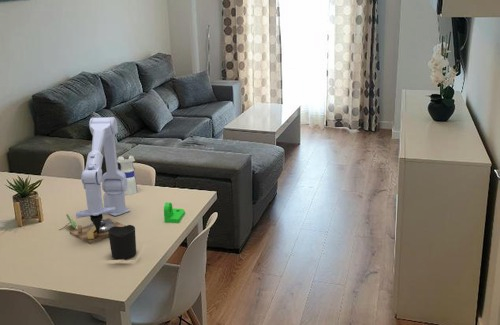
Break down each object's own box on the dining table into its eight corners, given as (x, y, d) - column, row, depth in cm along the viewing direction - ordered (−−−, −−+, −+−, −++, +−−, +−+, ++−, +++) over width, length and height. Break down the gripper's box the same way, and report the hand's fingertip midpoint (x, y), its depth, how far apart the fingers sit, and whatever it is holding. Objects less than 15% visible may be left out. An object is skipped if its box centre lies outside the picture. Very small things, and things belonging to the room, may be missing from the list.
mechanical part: (178, 223, 228) (177, 205, 226) (164, 223, 229) (163, 205, 227) (186, 213, 239) (185, 195, 237) (173, 212, 240) (171, 195, 238)
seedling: (67, 239, 227) (80, 229, 228) (60, 236, 219) (74, 226, 220) (58, 225, 229) (71, 215, 230) (50, 222, 221) (64, 212, 222)
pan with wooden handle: (94, 222, 227) (93, 215, 227) (117, 223, 226) (117, 216, 225) (78, 238, 212) (77, 231, 211) (103, 239, 211) (102, 231, 210)
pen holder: (123, 247, 206) (121, 222, 204) (142, 252, 202) (140, 227, 199) (105, 257, 199) (102, 231, 196) (124, 262, 194) (122, 236, 191)
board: (69, 233, 220) (68, 224, 219) (108, 220, 233) (107, 211, 232) (90, 243, 210) (89, 234, 209) (129, 229, 223) (128, 220, 222)
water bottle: (119, 194, 265) (114, 144, 258) (137, 192, 267) (133, 142, 260) (120, 200, 257) (115, 148, 250) (138, 198, 259) (134, 146, 252)
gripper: (74, 205, 204) (78, 239, 208) (114, 200, 208) (118, 233, 212) (74, 199, 211) (78, 232, 214) (113, 194, 215) (116, 227, 218)
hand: (98, 232), depth 213 cm, fingers closed, pressing on pan with wooden handle
